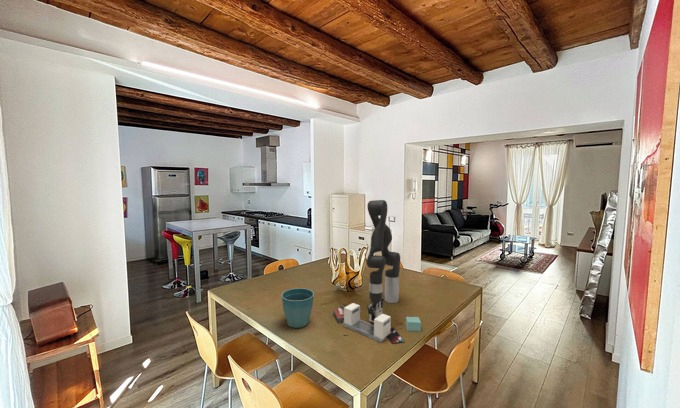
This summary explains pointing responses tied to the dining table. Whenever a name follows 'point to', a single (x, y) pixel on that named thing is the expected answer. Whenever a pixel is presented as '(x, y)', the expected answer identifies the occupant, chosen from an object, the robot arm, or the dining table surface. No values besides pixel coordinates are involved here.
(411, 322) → the block
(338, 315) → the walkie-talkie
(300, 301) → the flower pot
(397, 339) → the smartphone
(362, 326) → the grey rectangular tray
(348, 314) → the block
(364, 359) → the dining table surface
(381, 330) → the module
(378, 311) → the block
